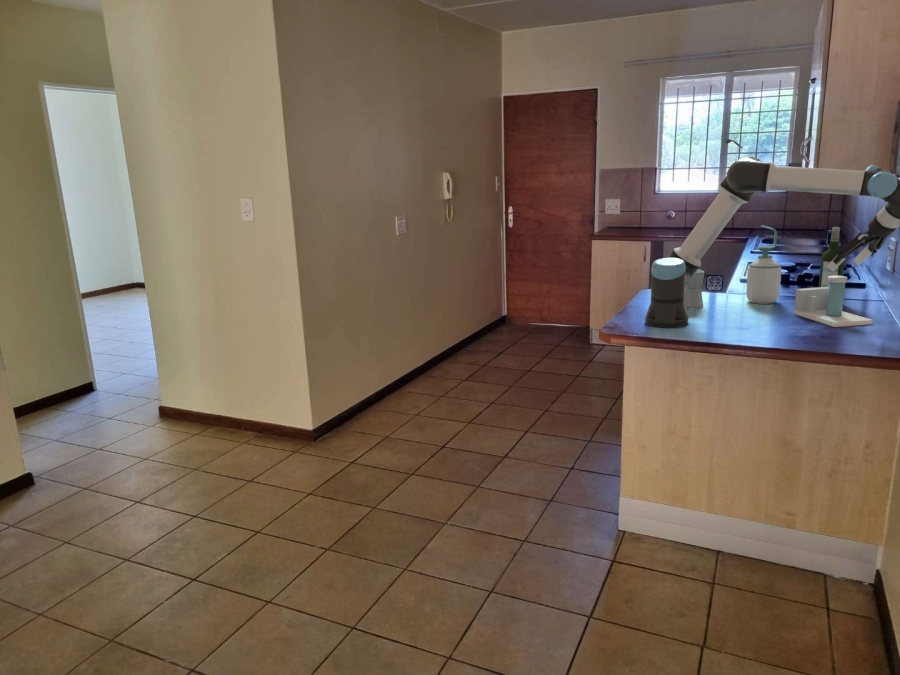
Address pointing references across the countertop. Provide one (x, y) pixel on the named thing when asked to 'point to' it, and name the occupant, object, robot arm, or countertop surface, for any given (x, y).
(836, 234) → the wine bottle
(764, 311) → the countertop surface
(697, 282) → the coffee maker
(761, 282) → the soap bottle
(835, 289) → the teal jar
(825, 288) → the mount
